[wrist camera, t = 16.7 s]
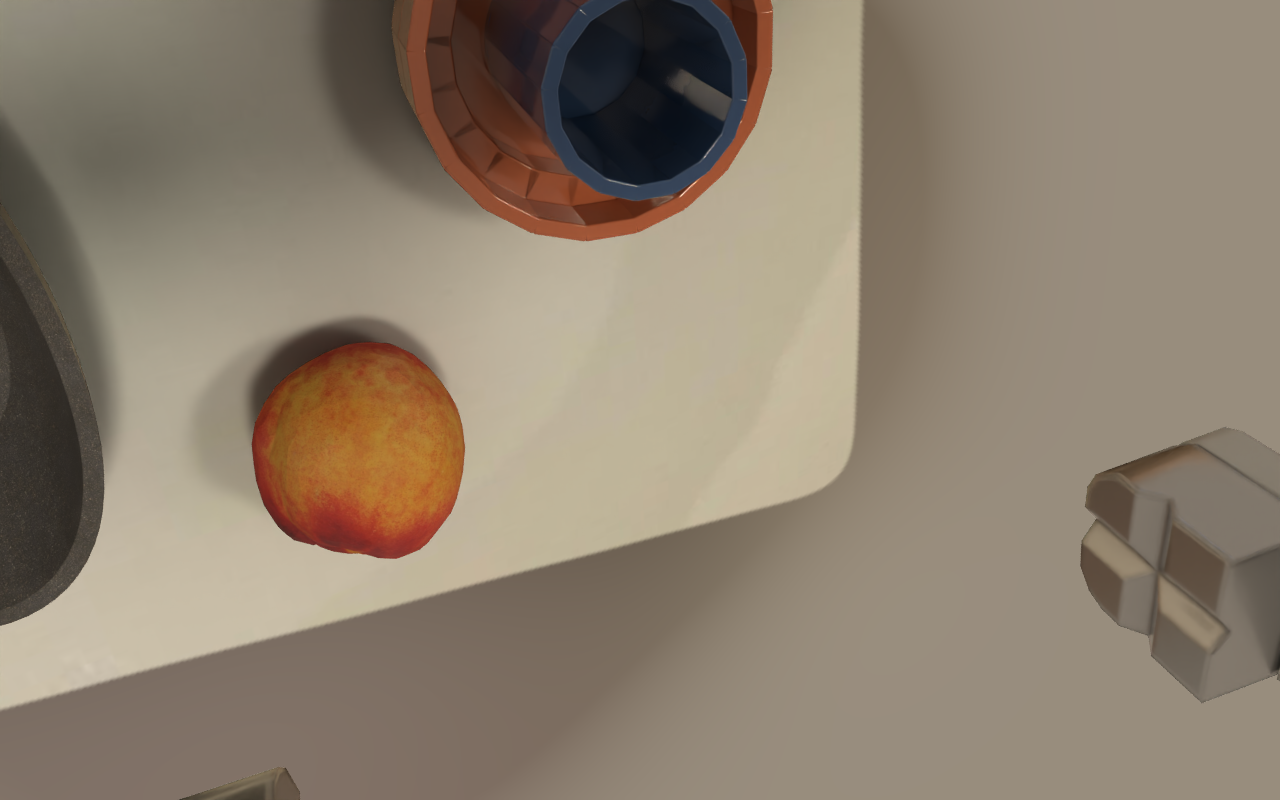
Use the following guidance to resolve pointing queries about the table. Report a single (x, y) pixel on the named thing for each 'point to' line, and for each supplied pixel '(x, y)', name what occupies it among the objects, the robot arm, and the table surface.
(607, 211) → the terracotta bowl
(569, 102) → the cup
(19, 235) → the bowl
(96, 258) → the table surface
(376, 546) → the fruit
